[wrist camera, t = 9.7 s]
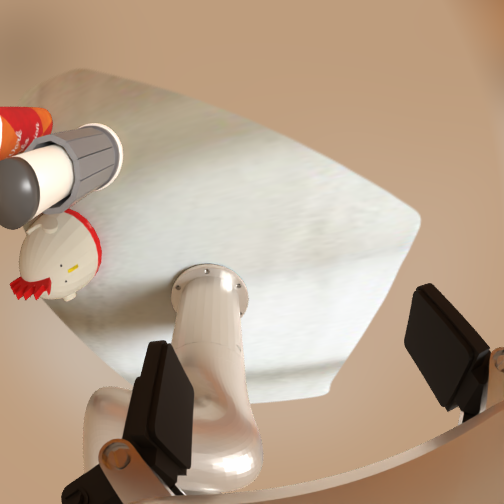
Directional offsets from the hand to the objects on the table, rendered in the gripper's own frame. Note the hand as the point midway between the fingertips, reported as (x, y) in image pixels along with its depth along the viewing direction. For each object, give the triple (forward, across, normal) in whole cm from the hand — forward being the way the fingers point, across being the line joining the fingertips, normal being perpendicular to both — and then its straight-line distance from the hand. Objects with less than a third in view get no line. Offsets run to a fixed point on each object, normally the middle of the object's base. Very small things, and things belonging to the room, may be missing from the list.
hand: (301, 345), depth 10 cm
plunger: (+30, +21, -8) cm, 37 cm away
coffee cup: (+32, +29, -16) cm, 47 cm away
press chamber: (+32, +21, -8) cm, 39 cm away
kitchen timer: (+33, +31, +5) cm, 45 cm away
